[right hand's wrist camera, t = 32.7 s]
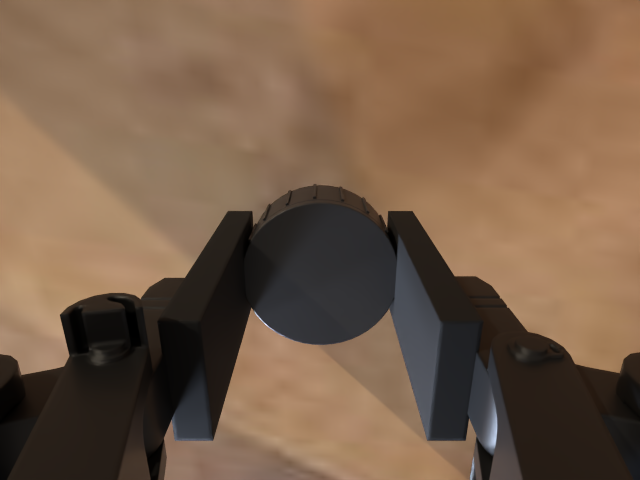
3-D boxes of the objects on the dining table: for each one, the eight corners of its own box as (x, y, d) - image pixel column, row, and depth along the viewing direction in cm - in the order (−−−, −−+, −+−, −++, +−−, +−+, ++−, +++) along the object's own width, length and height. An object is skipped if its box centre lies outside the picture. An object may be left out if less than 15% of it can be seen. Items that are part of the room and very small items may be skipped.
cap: (253, 176, 13) (242, 193, 12) (401, 191, 14) (414, 210, 12) (247, 307, 15) (236, 339, 13) (380, 318, 15) (387, 352, 13)
